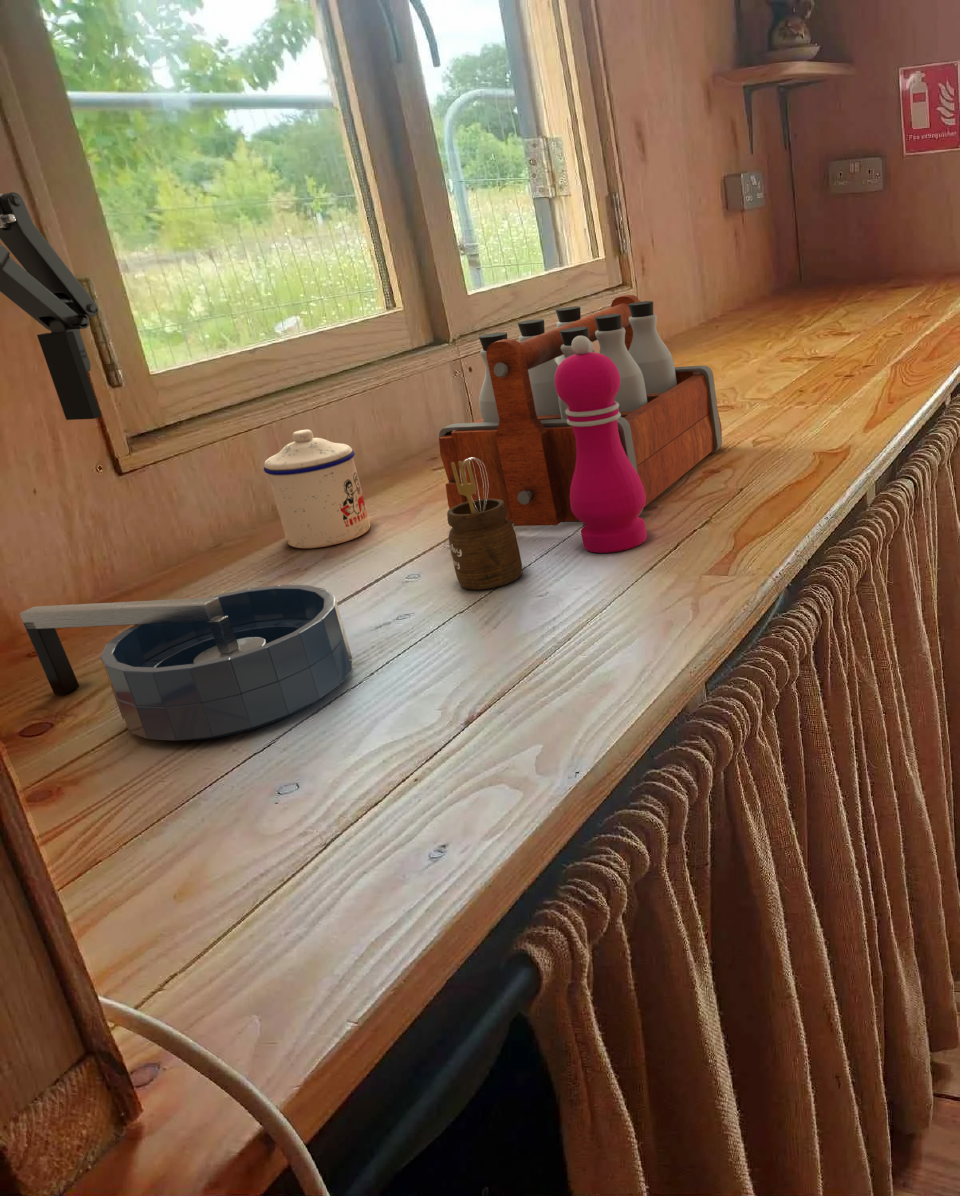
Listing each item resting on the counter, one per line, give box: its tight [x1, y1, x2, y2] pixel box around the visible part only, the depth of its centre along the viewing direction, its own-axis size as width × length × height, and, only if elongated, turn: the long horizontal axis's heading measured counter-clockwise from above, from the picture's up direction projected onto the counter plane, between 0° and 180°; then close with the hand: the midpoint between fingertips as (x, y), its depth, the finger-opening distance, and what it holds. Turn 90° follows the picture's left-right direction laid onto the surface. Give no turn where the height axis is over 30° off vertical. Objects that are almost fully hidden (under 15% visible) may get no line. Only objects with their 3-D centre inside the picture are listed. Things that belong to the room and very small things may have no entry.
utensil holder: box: [447, 458, 523, 591], centre depth 101 cm, size 6×6×12 cm
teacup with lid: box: [263, 429, 371, 549], centre depth 121 cm, size 12×9×12 cm
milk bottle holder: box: [438, 294, 723, 527], centre depth 127 cm, size 21×35×19 cm, turn 165°
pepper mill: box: [555, 336, 648, 554], centre depth 106 cm, size 7×7×20 cm
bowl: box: [99, 584, 353, 741], centre depth 83 cm, size 16×16×6 cm
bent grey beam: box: [19, 597, 267, 695], centre depth 85 cm, size 20×5×7 cm, turn 74°
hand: (5, 441), depth 81 cm, fingers open, 13 cm apart
